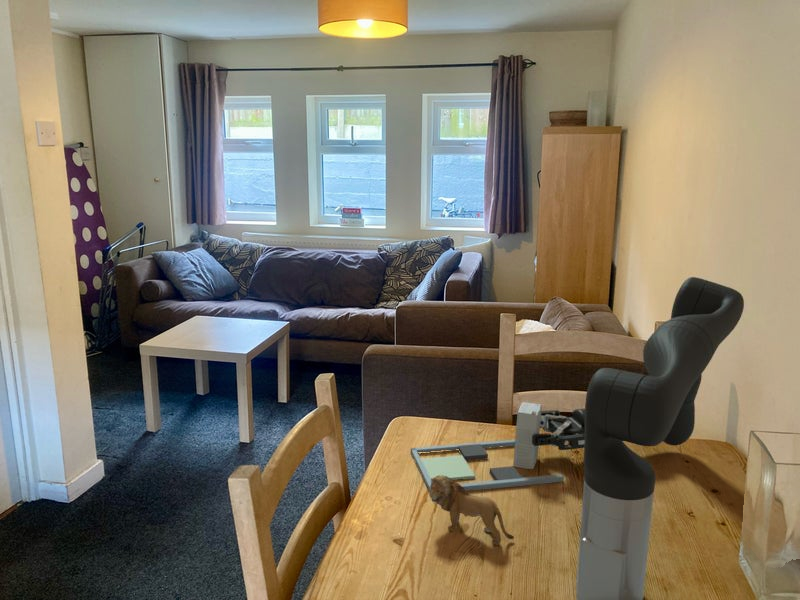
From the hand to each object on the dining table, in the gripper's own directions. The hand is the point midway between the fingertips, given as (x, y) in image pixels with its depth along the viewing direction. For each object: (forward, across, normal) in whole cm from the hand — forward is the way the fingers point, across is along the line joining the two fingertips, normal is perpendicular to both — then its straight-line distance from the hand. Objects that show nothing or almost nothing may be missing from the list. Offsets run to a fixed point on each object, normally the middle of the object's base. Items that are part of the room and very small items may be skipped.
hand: (524, 431), depth 129 cm
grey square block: (+6, +5, +7) cm, 11 cm away
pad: (+16, 0, +7) cm, 18 cm away
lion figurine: (+19, +22, +7) cm, 30 cm away
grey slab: (+9, -6, +7) cm, 13 cm away
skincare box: (-1, 0, +7) cm, 7 cm away
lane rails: (+8, 0, +7) cm, 11 cm away
